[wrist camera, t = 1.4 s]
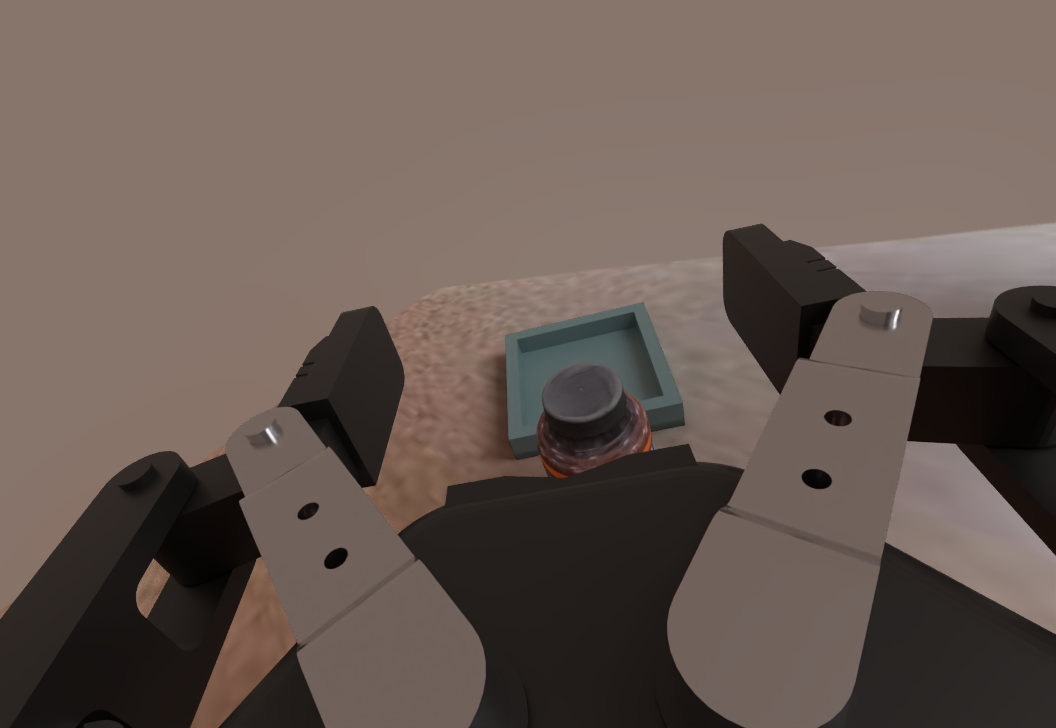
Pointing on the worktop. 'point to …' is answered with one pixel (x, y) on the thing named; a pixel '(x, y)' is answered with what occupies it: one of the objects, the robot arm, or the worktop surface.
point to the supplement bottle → (588, 421)
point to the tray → (589, 339)
